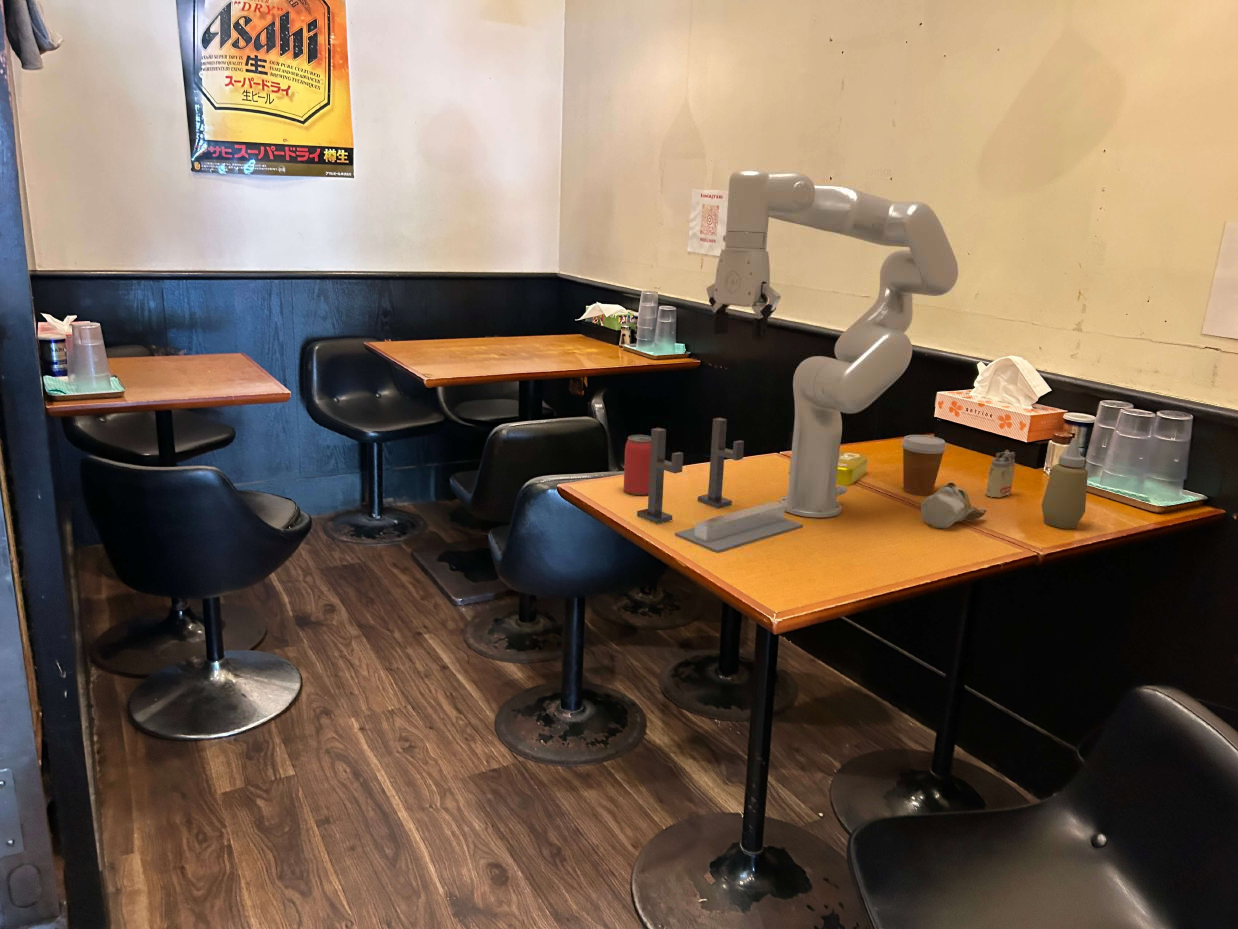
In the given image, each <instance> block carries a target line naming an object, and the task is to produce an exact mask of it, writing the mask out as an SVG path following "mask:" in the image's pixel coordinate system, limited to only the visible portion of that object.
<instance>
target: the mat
mask: <svg viewBox="0 0 1238 929" xmlns="http://www.w3.org/2000/svg"><path fill="white" fill-rule="evenodd" d="M803 527H804V524H802V523H799V522H796V521H794V520H790V519H788V518H785V517H784V520H782V521H779V522H775V523H772V524H769V525H765V526H762V527H758V528H755V529H751V530H748V531H744V532H741V533H738V534H734V535H731V536H727V537H724V538H720V539H717V540H714V541H710V542H707V543H706V542H703V541H701V540H698V539H696V538H694V537H695V527H691V528H689V529H684V530H680V531H678V532H677V531H676V532H674V536H675V537H678V538H681V539H683V540H686V541H687V542H690V543H691V544H695V545H697V546H700V547H702V548H704V549H708V550H709V551H712V552H714V553H716V554H719V553H721V552H722V553H723V552H726V551H729V550H732V549H735V548H738V547H741V546H745V545H748V544H752V543H755V542H758V541H761V540H764V539H768V538H771V537H775V536H777V535H782V534H784V533H787V532H792V531H794V530H797V529H800V528H803Z"/></svg>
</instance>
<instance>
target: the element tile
mask: <svg viewBox="0 0 1238 929" xmlns="http://www.w3.org/2000/svg"><path fill="white" fill-rule="evenodd" d="M789 460H790V462H789V466H790V465H791V458H790V459H789ZM867 464H868V457H867V456H866V455H863V454H858V453H851V452H844V451H840V452H839V461H838V471H837V480H836V486H841V485H844V486H845V487H848V486H851V485H853V484H854V483H855V482H857V481H858V480H860V479H861V478H862V477H863V476H865V475H866V472H867ZM788 473H789V476H790V469H789V472H788Z"/></svg>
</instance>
